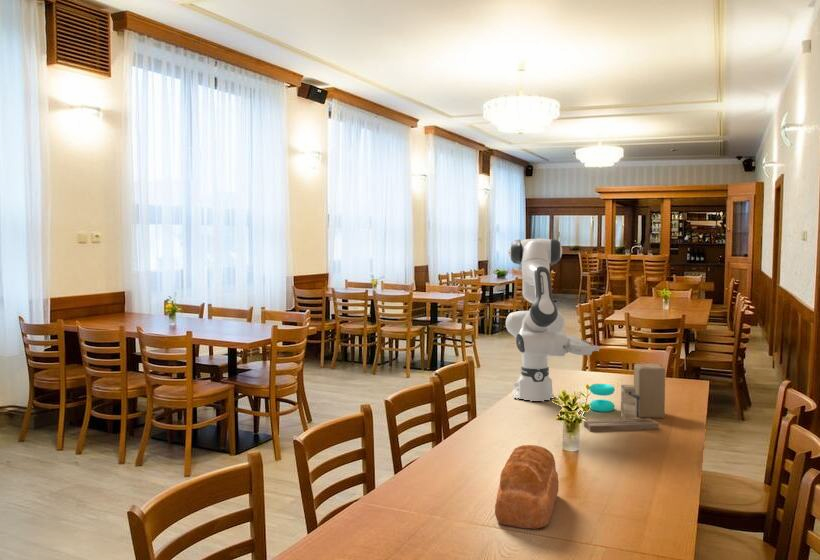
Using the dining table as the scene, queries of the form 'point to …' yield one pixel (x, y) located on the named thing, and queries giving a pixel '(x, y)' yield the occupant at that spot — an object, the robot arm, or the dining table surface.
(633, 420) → the board
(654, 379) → the grey rectangular block
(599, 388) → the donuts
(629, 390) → the gauge
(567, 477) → the dining table surface
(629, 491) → the dining table surface
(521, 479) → the bread
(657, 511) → the dining table surface
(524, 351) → the robot arm
